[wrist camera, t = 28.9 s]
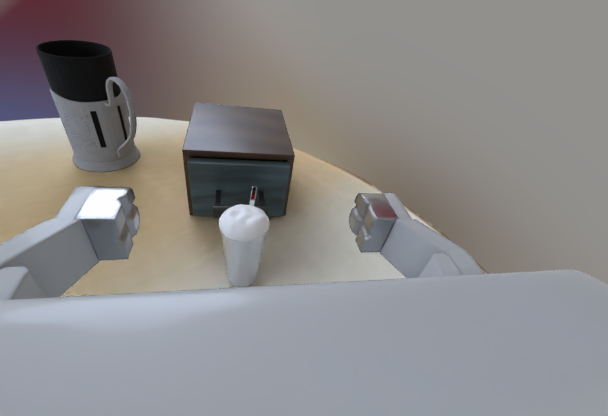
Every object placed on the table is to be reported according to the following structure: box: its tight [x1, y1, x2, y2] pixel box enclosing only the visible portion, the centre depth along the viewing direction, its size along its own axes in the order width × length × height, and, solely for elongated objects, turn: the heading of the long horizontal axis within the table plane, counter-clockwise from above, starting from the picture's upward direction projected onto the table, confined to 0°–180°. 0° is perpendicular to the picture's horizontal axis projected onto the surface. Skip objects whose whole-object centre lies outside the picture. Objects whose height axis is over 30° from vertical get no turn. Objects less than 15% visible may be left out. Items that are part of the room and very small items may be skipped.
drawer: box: [188, 156, 290, 217], centre depth 39 cm, size 17×11×8 cm
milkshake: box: [219, 186, 269, 287], centre depth 29 cm, size 4×5×10 cm
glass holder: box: [36, 40, 140, 172], centre depth 39 cm, size 9×14×15 cm, turn 56°
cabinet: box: [182, 103, 295, 215], centre depth 42 cm, size 14×13×10 cm
